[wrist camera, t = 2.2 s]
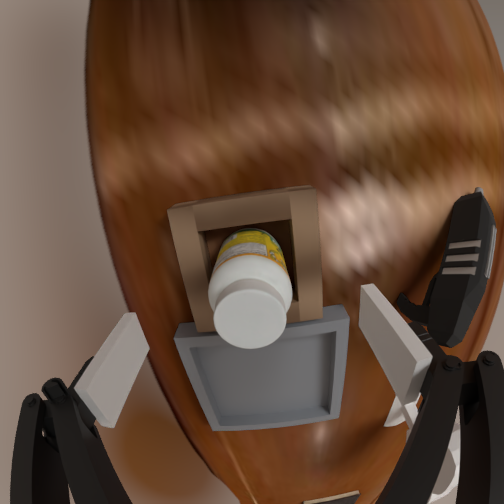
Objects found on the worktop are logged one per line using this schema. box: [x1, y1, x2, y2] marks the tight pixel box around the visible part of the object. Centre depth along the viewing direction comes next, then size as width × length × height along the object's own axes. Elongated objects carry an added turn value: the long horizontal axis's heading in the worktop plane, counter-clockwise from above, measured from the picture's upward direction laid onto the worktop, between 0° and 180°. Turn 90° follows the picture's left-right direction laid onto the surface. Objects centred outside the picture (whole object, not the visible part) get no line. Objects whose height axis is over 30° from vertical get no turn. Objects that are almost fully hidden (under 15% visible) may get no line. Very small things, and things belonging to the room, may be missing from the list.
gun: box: [397, 187, 497, 348], centre depth 21 cm, size 3×16×10 cm, turn 147°
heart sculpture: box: [384, 393, 460, 504], centre depth 23 cm, size 16×5×18 cm, turn 7°
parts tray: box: [174, 304, 350, 431], centre depth 27 cm, size 16×16×2 cm
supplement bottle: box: [208, 228, 292, 349], centre depth 19 cm, size 5×5×10 cm
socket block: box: [167, 185, 323, 332], centre depth 22 cm, size 11×11×2 cm
